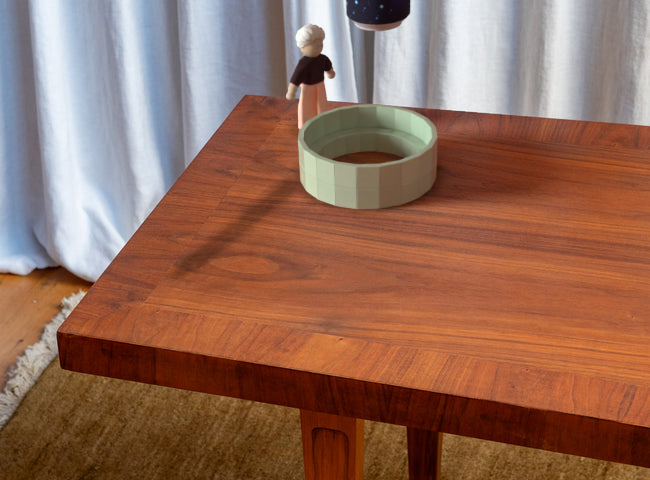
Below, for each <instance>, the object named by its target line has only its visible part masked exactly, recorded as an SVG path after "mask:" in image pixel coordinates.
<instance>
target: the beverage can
mask: <svg viewBox="0 0 650 480" xmlns="http://www.w3.org/2000/svg"><path fill="white" fill-rule="evenodd" d="M345 12H346V14H345V15H346V16H347V18H348V19H349V20H351V21H352V22H353V23H354V25H355V26H356V27H357V28H358V29H360V30H364V31H369V32H385V31H391V30H394V29H396V28H399V27H400V26H401V25H402V23H403V22H404V21H405V20H406V19H407V18H408V17H409V16H410V14H411V0H345Z"/></svg>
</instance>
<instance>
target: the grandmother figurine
mask: <svg viewBox="0 0 650 480" xmlns="http://www.w3.org/2000/svg"><path fill="white" fill-rule="evenodd" d="M294 37H295V42H296V46H297V47H298V48H299V49H300V51H301V53H302V54H303V56H302V57H301V58H299V60H298V62H297V64H296V66H295V68H294V70H293V73H292V75H291V77H290V80H289V84H288V89H287V90H288V91H287V92H286V95H285V97H286V99H287V100H288V101H294V100H295V99H296V93H297V92H298V91H299V87H300V89H301V90H300V95H299V101H298V107H297V116H298V117H297V121H298V122H297V123H298V124H297V127H298V129H299V130H300V129H301V127H302V126H303V125H304V124H305V123H306V121H308V120H310V119H311V118H313V117H315V116H316V115H318V114H320V113H323V112H326V111H329V110H330V108H329V103H328V96H327V90H326V84H325V74H326V78H328V79H329V80H332V79H335V77H336V75H337V74H336V71H335V70H334V66H333V62H332V61H331V59H330V58H329V56H327V55H326V54H324V53H322V52H323V50H324V40H325V39H326V32H325V30H324V29H323V28H322V27H320V26H319V25H317V24H312V23H307V24H305V25H304V26H302V27H301V28H299V29H298V30H297V31H296V34H295V36H294Z"/></svg>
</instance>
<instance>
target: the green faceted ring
mask: <svg viewBox="0 0 650 480" xmlns="http://www.w3.org/2000/svg"><path fill="white" fill-rule="evenodd" d="M438 141H439V136H438V130H437V126H436V125H435V124H434V123H433V122H432V121H431V120H430V119H429V117H427V116H424V115H422V114H421V113H419V112H417V111H415V110H412V109H408V108H404V107H401V106H397V105H387V104H378V103H368V104H366V103H365V104H364V103H363V104H351V105H346V106H341V107H339V106H338V107H336V108H332V109H329V111H326V112H323V113H320V114H318V115H316V116H315V117H313V118H311V119H310V120H308V121H306V123H305V124H304V125H303V126H302V127H301V129H299V130H298V136H297V148H298V163H299V178H300V179H299V181H300V183H301V184H302V186H303V188H304V189H305V191H306V192H307V193H308V194H310V195H311V196H313V198H315V199H316V200H318V201H321V202H324V203H327V204H330V205H332V206H335V207H341V208H347V209H354V210H380V209H387V208H391V207H397V206H401V205H405V204H407V203H410V202H412V201H414V200H418V199H419V198H421V197H422V196H423V195H424V194H426V193H427V192H429V190H431V189H432V187H433V186H434V183H435V181H436V179H437V169H438V168H437V167H438V165H437V163H438V144H439V143H438ZM359 152H377V153H378V152H379V153H384V154H391V155H394V156H398V157H401V158H402V159H398V160H392V161H386V162H381V163H351V162H345V161H337V160H334V159H336V158H339V157H341V156H345V155H349V154H355V153H359Z"/></svg>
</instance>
